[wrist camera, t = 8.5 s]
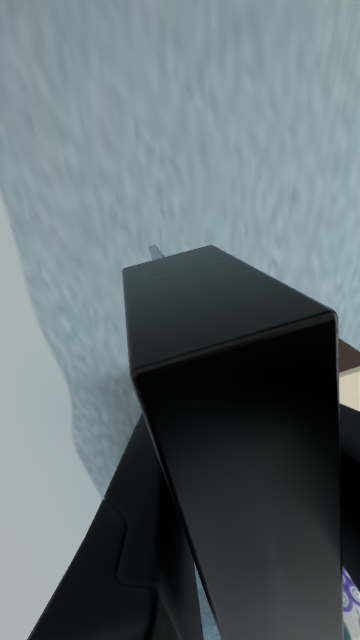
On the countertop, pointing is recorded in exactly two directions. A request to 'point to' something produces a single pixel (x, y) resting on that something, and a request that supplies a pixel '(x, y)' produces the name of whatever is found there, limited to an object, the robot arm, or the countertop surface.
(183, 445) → the black handle
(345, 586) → the teapot
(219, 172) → the countertop surface
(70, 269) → the countertop surface
